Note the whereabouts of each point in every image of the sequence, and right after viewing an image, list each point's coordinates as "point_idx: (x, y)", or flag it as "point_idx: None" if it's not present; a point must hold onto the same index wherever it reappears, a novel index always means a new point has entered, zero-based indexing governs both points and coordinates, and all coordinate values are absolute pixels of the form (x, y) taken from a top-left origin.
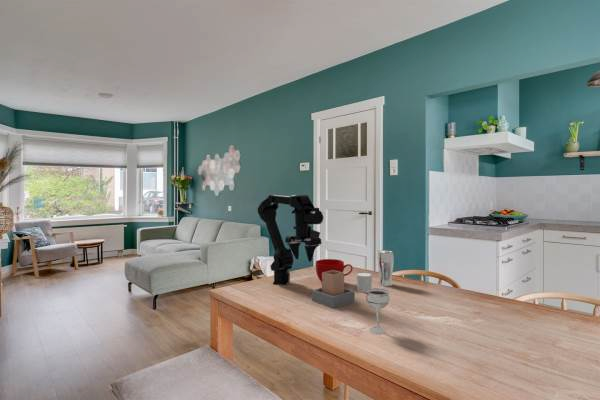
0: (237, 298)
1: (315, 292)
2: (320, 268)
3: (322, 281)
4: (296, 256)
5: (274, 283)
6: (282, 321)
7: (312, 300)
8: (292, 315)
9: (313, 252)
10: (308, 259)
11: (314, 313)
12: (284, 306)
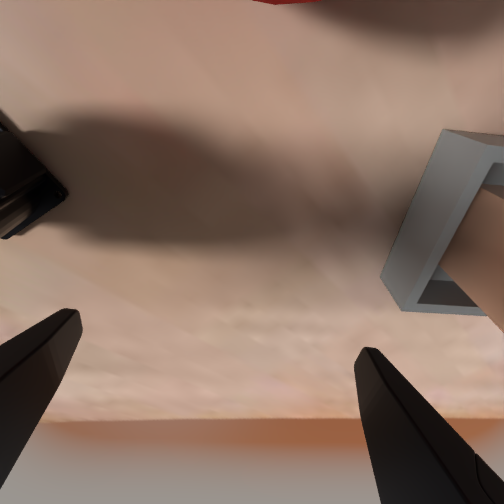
0: (138, 407)
1: (425, 309)
2: (287, 2)
3: (497, 322)
4: (61, 362)
5: (13, 234)
6: None
7: (382, 277)
8: None
9: (495, 483)
10: (366, 399)
11: (452, 349)
12: (324, 367)
